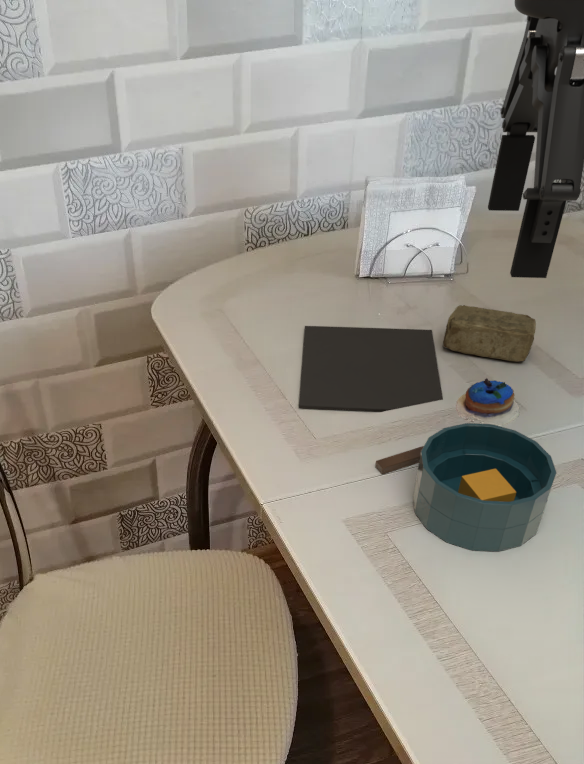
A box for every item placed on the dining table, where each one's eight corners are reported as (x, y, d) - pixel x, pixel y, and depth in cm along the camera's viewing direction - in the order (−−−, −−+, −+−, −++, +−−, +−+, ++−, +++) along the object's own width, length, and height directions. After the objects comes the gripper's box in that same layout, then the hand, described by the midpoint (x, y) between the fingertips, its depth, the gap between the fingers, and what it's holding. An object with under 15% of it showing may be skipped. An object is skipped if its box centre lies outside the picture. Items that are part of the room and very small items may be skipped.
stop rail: (461, 443, 94) (464, 433, 93) (469, 450, 93) (472, 440, 92) (374, 470, 91) (375, 460, 90) (381, 478, 90) (382, 468, 89)
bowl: (526, 475, 90) (541, 425, 85) (549, 558, 80) (568, 507, 75) (408, 470, 91) (416, 421, 86) (418, 552, 81) (428, 501, 77)
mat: (431, 332, 113) (431, 329, 113) (444, 415, 99) (445, 411, 98) (304, 328, 115) (304, 325, 115) (298, 408, 101) (298, 405, 100)
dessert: (496, 382, 102) (517, 364, 96) (515, 429, 101) (537, 414, 95) (439, 398, 101) (457, 381, 95) (458, 446, 100) (477, 432, 94)
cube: (488, 496, 86) (495, 468, 84) (508, 520, 83) (516, 492, 81) (455, 504, 86) (461, 475, 83) (474, 528, 83) (481, 500, 80)
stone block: (527, 367, 106) (535, 334, 103) (439, 353, 109) (445, 320, 106) (531, 345, 110) (539, 312, 107) (446, 332, 113) (452, 300, 110)
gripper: (499, -76, 65) (455, 185, 79) (561, -20, 47) (489, 308, 61) (595, -78, 64) (534, 186, 78) (697, -22, 46) (592, 311, 60)
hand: (514, 240), depth 69 cm, fingers open, 13 cm apart
